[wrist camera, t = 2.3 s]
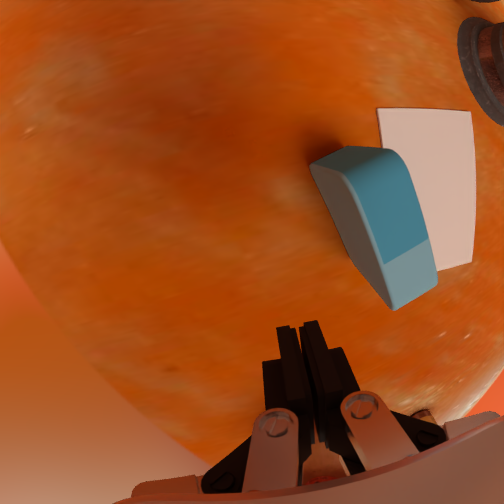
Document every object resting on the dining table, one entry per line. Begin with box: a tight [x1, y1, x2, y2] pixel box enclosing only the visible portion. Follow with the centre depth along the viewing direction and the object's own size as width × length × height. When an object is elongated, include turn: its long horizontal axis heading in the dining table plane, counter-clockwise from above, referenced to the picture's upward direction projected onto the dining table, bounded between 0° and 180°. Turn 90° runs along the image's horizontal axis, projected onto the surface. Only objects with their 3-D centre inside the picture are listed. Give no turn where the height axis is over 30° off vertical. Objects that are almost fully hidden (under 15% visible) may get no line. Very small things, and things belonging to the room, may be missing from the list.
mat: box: [376, 108, 476, 271], centre depth 29 cm, size 20×14×1 cm
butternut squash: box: [303, 422, 347, 486], centre depth 30 cm, size 14×13×25 cm
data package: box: [309, 146, 438, 310], centre depth 24 cm, size 12×4×12 cm, turn 29°
